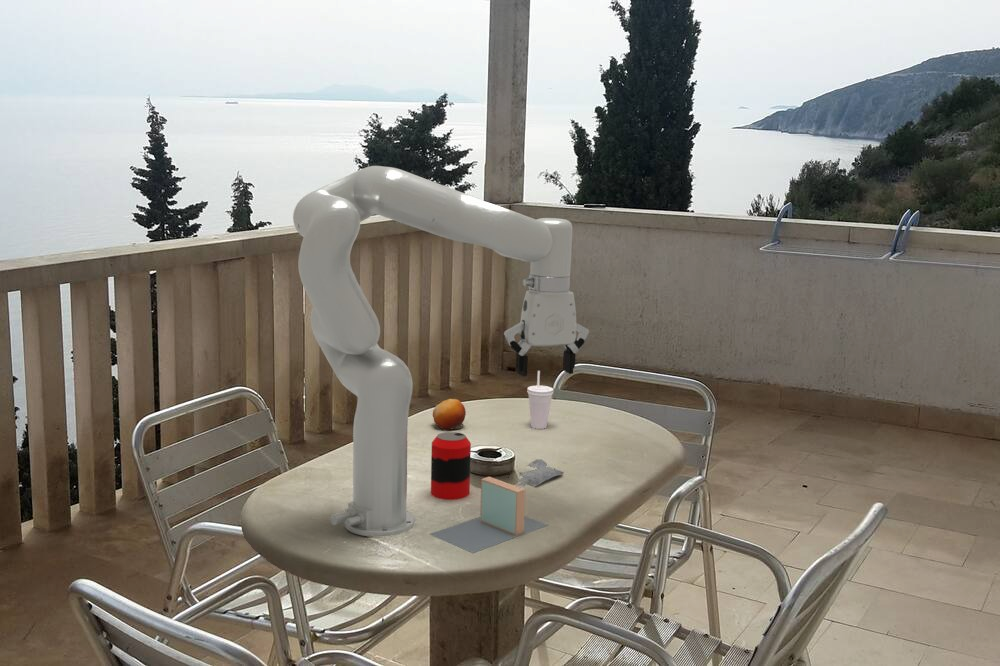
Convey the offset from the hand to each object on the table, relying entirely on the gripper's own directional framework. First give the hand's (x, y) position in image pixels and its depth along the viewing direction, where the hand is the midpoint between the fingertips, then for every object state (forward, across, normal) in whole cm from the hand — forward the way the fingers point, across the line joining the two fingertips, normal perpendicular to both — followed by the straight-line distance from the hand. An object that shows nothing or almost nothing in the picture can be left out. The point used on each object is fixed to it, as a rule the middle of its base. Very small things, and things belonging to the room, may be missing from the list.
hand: (545, 373), depth 192 cm
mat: (+25, -15, -13) cm, 32 cm away
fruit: (+25, 0, +52) cm, 58 cm away
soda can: (+26, -16, +7) cm, 31 cm away
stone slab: (+26, +4, +12) cm, 29 cm away
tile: (+25, -13, -12) cm, 30 cm away
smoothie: (+25, +21, +46) cm, 56 cm away
